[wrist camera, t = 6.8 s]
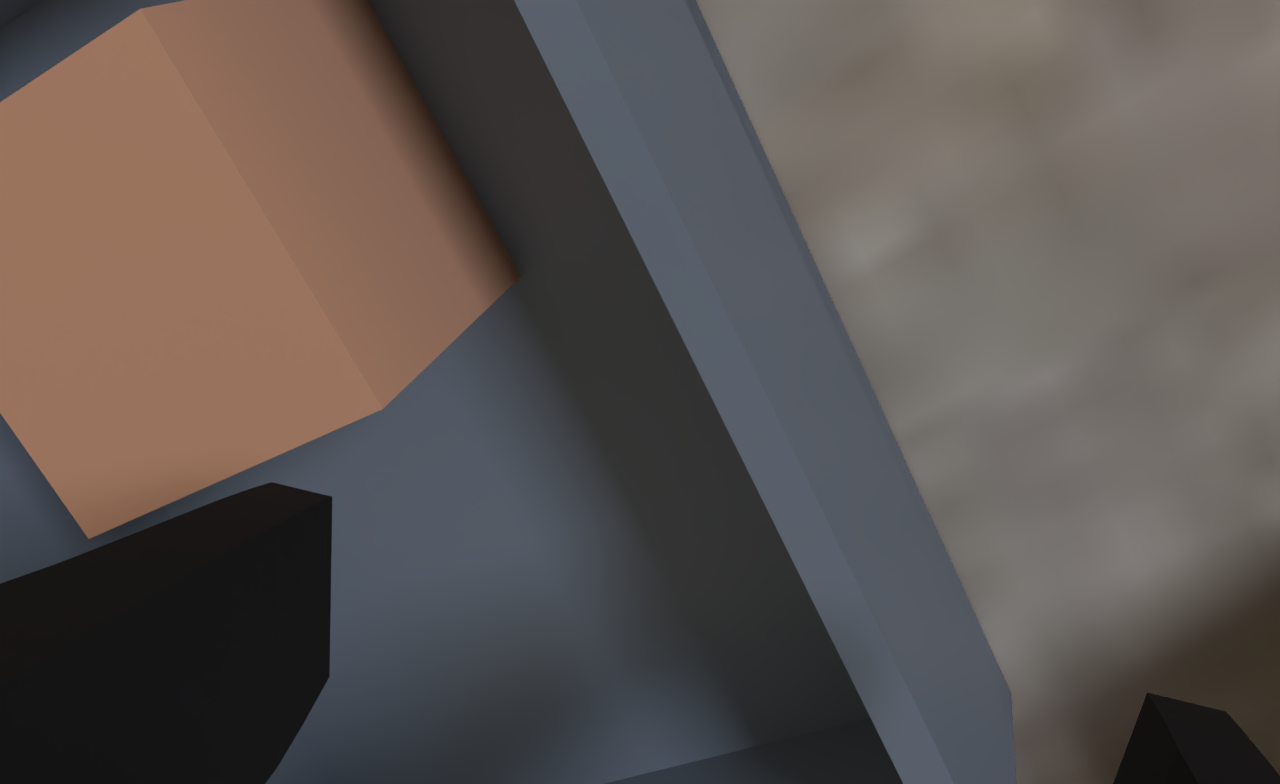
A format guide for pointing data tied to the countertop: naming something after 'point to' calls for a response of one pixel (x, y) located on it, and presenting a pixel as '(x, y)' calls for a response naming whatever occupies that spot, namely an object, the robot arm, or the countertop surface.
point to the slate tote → (605, 455)
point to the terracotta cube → (223, 246)
